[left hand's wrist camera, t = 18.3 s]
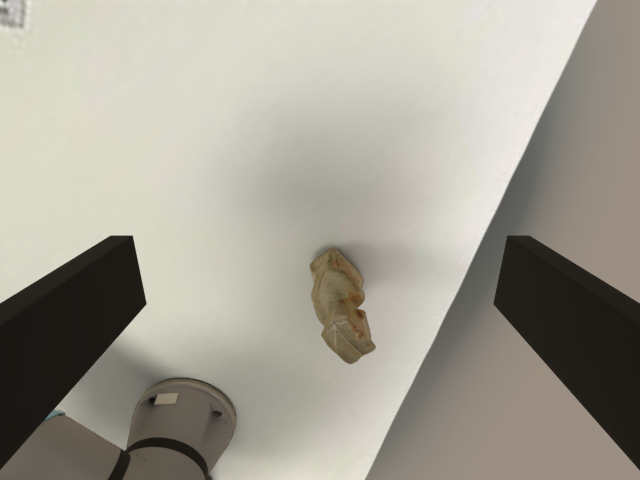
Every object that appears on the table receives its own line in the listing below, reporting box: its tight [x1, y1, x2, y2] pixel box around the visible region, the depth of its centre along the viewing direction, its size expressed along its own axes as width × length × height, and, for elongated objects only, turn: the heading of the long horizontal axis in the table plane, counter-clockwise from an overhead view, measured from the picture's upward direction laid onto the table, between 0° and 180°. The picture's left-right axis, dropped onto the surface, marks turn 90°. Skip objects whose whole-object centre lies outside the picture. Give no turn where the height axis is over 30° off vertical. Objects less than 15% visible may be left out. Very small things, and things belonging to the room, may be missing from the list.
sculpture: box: [310, 248, 376, 364], centre depth 39 cm, size 6×7×15 cm
